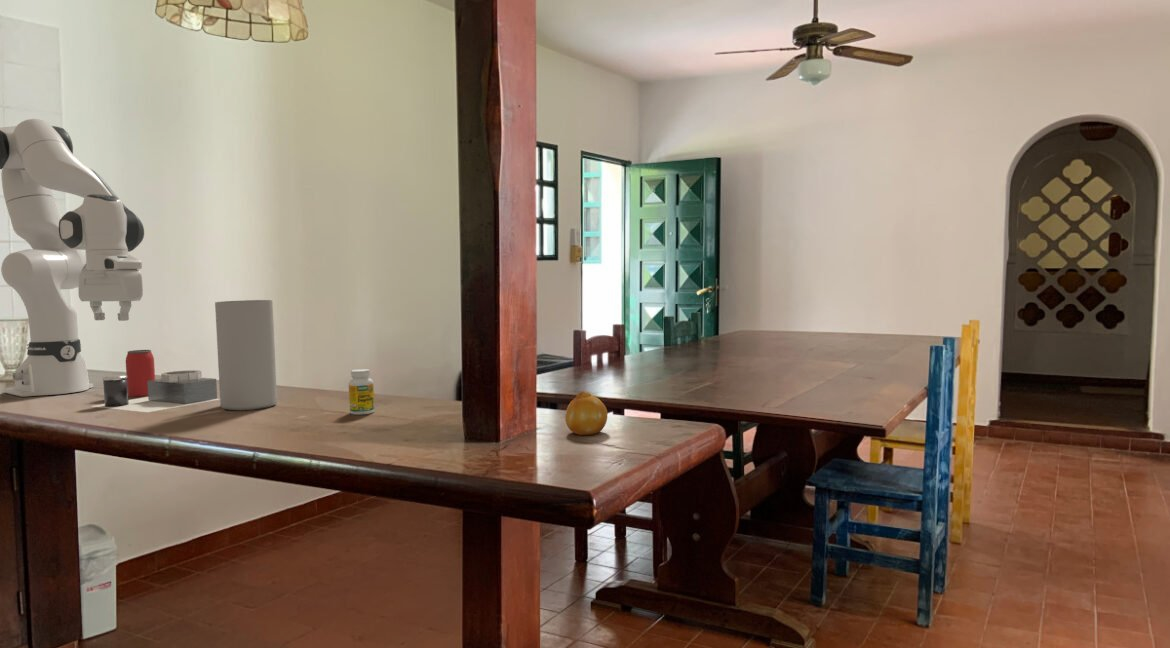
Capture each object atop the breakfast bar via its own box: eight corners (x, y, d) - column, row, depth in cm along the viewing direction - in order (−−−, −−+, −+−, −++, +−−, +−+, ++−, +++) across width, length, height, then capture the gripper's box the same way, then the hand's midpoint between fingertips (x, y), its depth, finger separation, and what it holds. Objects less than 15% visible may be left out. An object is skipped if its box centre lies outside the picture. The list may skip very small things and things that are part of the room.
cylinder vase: (223, 404, 202) (218, 301, 200) (278, 400, 205) (273, 299, 204) (217, 412, 190) (211, 303, 188) (275, 408, 194) (270, 301, 192)
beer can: (121, 398, 215) (118, 352, 214) (142, 394, 221) (139, 349, 221) (142, 398, 213) (139, 352, 212) (162, 394, 220) (159, 349, 219)
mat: (90, 407, 201) (90, 406, 200) (166, 395, 218) (166, 394, 218) (147, 414, 190) (147, 412, 190) (222, 400, 207) (222, 399, 207)
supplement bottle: (367, 409, 190) (365, 367, 189) (379, 412, 186) (377, 369, 185) (345, 413, 186) (343, 370, 185) (357, 415, 182) (355, 372, 181)
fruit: (556, 417, 162) (565, 385, 158) (594, 417, 165) (604, 386, 161) (566, 446, 156) (576, 413, 151) (607, 446, 158) (617, 413, 154)
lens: (99, 406, 200) (97, 377, 200) (120, 402, 205) (118, 374, 204) (112, 407, 198) (110, 378, 197) (133, 404, 202) (131, 375, 202)
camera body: (148, 400, 207) (146, 373, 207) (181, 395, 215) (179, 369, 215) (184, 404, 200) (183, 376, 200) (217, 398, 208) (215, 371, 208)
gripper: (68, 263, 201) (72, 320, 202) (120, 261, 191) (124, 321, 192) (95, 263, 206) (98, 319, 207) (146, 261, 197) (150, 319, 198)
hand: (111, 320), depth 200 cm, fingers open, 8 cm apart
